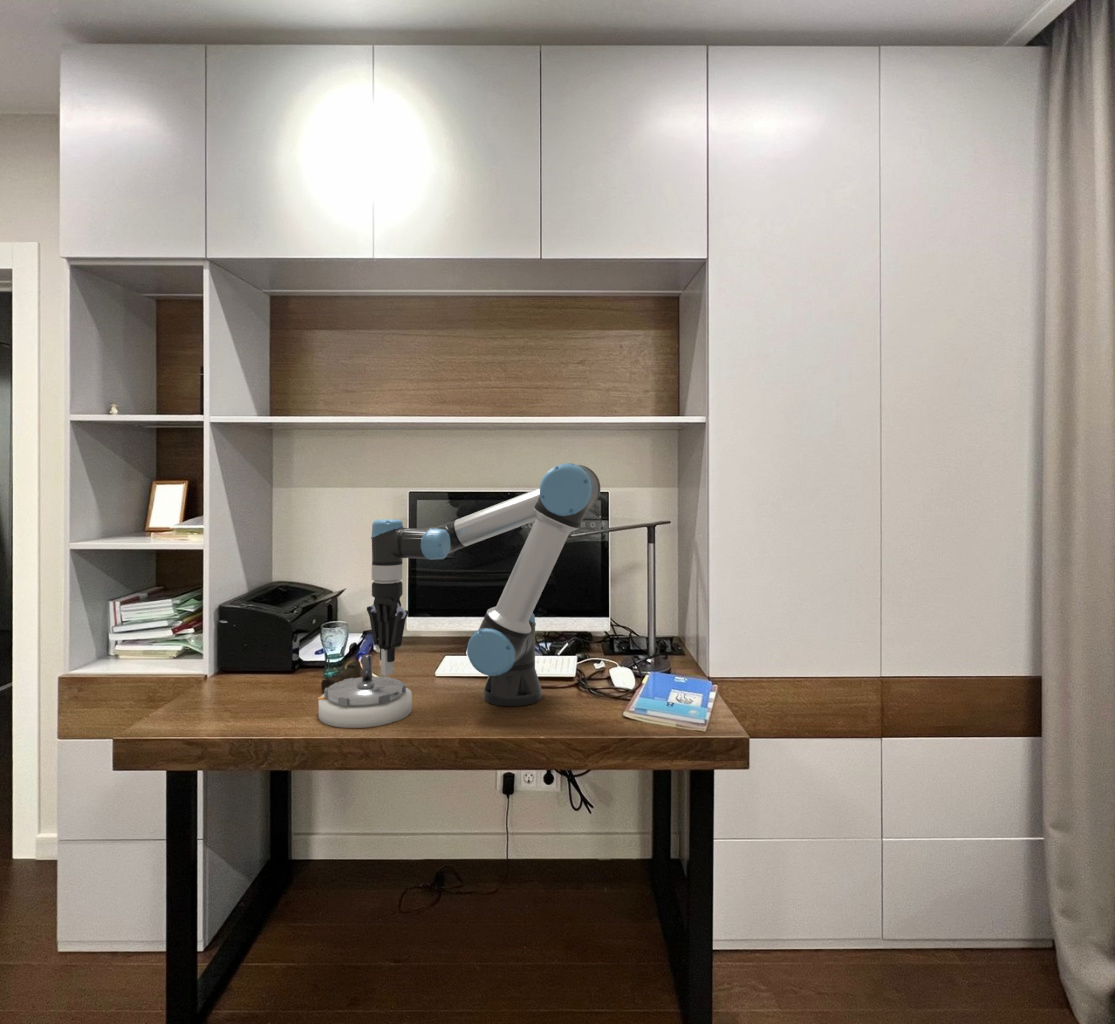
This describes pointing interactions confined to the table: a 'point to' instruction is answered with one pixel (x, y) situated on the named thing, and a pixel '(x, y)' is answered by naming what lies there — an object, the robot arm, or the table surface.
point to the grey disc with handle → (365, 688)
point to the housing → (365, 713)
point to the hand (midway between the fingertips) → (387, 673)
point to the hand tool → (343, 675)
